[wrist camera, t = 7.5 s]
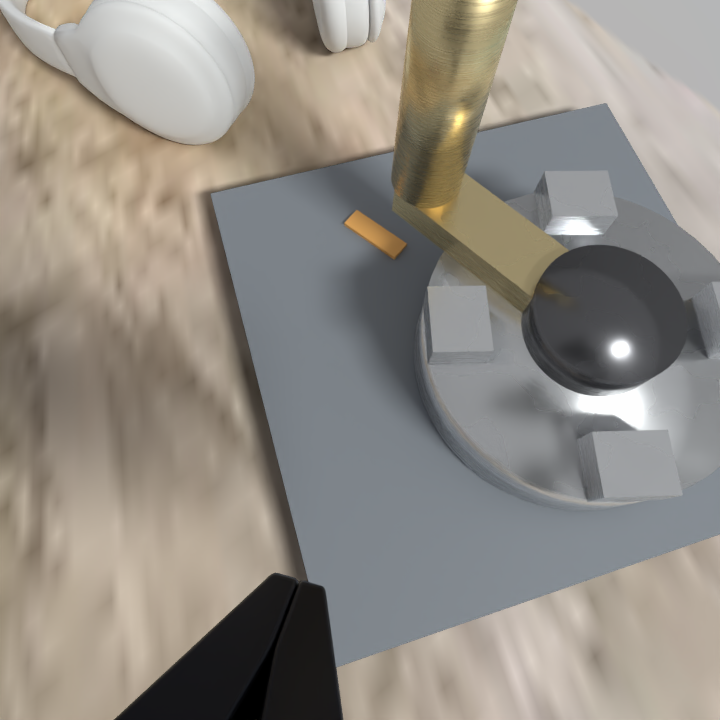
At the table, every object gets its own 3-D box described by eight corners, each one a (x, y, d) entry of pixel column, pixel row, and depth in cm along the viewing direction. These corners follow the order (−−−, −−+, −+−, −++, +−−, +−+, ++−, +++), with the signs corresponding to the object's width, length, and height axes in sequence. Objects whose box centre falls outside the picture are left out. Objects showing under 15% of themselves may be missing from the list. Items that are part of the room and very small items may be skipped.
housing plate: (804, 498, 22) (839, 493, 21) (331, 662, 20) (330, 670, 18) (593, 125, 29) (608, 99, 27) (217, 213, 26) (209, 190, 25)
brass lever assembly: (762, 354, 23) (1259, 103, 10) (598, 583, 19) (1038, 614, 7) (475, 146, 26) (593, -229, 14) (294, 312, 23) (235, 13, 11)
